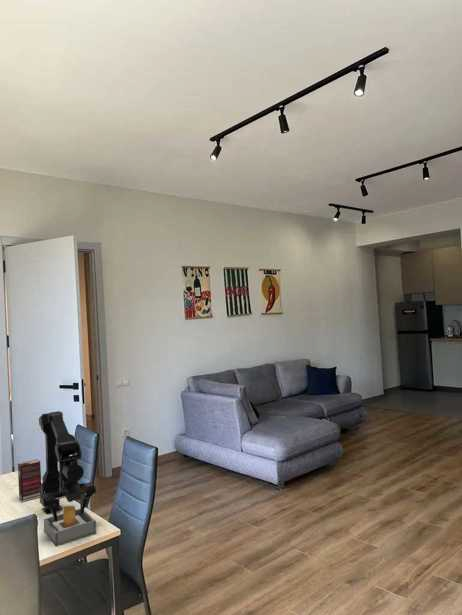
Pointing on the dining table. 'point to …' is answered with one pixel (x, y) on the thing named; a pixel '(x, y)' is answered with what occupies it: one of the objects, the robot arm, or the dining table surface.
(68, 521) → the plug
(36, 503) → the dining table surface
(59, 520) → the inlet box
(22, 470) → the supplement box
